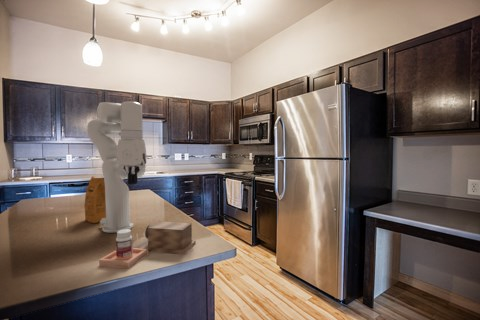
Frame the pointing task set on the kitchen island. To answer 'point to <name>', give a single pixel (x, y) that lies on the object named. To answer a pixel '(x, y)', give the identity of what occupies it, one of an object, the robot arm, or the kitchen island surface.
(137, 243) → the block
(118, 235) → the pill bottle
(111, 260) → the tray
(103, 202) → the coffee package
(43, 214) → the kitchen island surface
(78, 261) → the kitchen island surface
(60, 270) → the kitchen island surface
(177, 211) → the kitchen island surface
